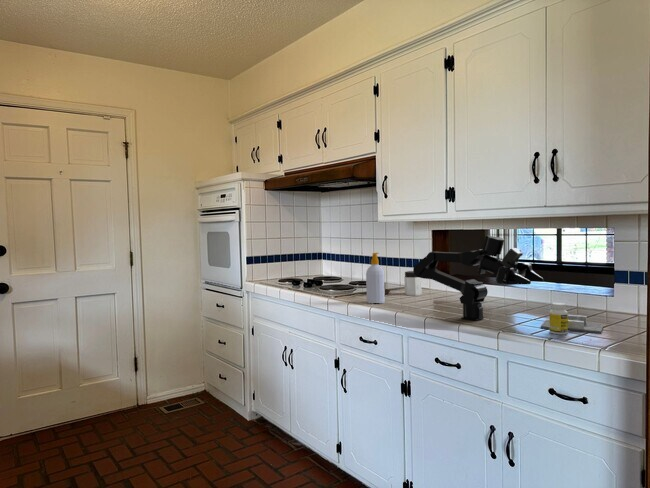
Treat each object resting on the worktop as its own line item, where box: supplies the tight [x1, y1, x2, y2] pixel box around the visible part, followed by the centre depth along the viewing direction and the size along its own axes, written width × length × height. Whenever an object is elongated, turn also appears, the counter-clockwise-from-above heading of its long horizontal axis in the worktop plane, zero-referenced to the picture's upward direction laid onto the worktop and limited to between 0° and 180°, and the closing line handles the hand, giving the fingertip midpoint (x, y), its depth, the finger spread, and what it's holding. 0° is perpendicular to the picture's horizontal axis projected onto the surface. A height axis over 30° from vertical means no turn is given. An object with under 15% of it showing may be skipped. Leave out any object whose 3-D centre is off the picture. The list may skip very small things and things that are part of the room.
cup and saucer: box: [384, 281, 391, 295], centre depth 251 cm, size 12×12×6 cm
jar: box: [404, 270, 423, 297], centre depth 245 cm, size 9×8×12 cm
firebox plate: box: [540, 314, 604, 335], centre depth 161 cm, size 18×12×3 cm, turn 56°
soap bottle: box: [365, 252, 386, 304], centre depth 223 cm, size 9×9×24 cm
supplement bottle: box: [548, 302, 569, 335], centre depth 154 cm, size 5×5×10 cm
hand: (536, 281), depth 160 cm, fingers open, 9 cm apart
